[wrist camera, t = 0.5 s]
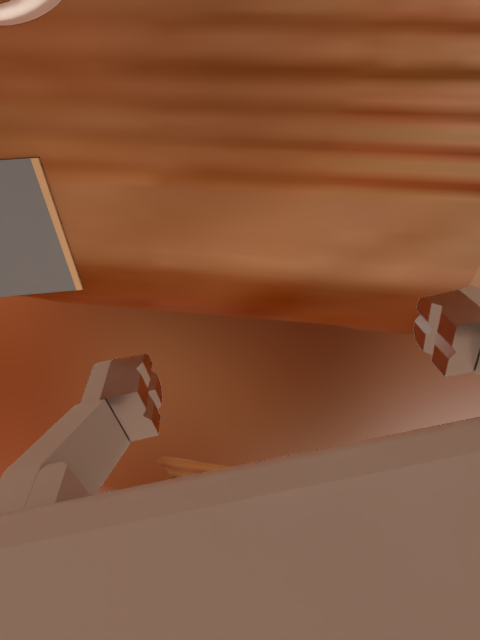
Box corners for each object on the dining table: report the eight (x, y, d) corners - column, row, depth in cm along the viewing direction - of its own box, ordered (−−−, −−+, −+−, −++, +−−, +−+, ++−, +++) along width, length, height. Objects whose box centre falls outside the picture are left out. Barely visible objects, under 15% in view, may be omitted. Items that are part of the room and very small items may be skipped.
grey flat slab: (-88, 165, 46) (-90, 166, 46) (39, 157, 47) (37, 157, 47) (-18, 297, 57) (-19, 298, 57) (83, 288, 58) (82, 289, 58)
